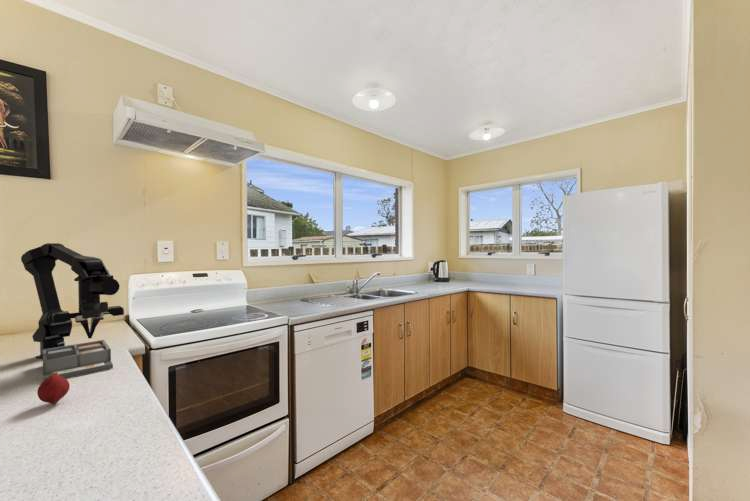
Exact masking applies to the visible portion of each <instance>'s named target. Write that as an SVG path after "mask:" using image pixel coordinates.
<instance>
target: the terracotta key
mask: <svg viewBox="0 0 750 501" xmlns="http://www.w3.org/2000/svg"><path fill="white" fill-rule="evenodd" d="M98 345H101V344H100V343H99V344H93V345H87V346H80V347H78V349H80V348H86V347H92V346H98Z"/></svg>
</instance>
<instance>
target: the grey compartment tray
mask: <svg viewBox="0 0 750 501" xmlns="http://www.w3.org/2000/svg"><path fill="white" fill-rule="evenodd" d="M99 343H100V344H101V345H98V346H92V347H86V348H80V349H78V347H80V346H87V345H93V344H99ZM68 348H72V349H73V350H68V351H62V352H56V353H50V354H48V352H50V351H56V350H62V349H68ZM99 348H104V350H100V351H94V352H88V353H83V354H80V352H81V351H87V350H93V349H99ZM111 350H112V349H111V348H110V346H109V345H108V343H107V342H106V341H105V339H101V340H94V341H87V342H82V343H81V342H80V343H75V344H68V345H65V346H62V347H55V348H49V349H43V358H42V372H43V377H42V378H43V381H44V380H45V379H47V378H48V377H49V376H50V375H51V374H52V373H54V372H57V373H58V374H57V375H58V376H62V377H64V378H65V379H68V378H69V379H70V378H74V377H79V376H84V375H88V374H93V373H97V372H102V371H107V370H112V369H113V368H114V364H113V362H112V355H111V354H112V351H111Z"/></svg>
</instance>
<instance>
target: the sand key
mask: <svg viewBox="0 0 750 501" xmlns="http://www.w3.org/2000/svg"><path fill="white" fill-rule="evenodd" d="M100 350H104V348H99V349H93V350H87V351H81V352H80V354H83V353H88V352H94V351H100Z"/></svg>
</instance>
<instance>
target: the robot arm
mask: <svg viewBox="0 0 750 501" xmlns="http://www.w3.org/2000/svg"><path fill="white" fill-rule="evenodd" d="M20 261H21V263H22V265H23V267H24V270H25V271H26V272H28V273H29V274H30V275H32V277H33V280H34V284H35V287H36V291H37V297H38V301H39V304H40V308H41V312H42V315H41V316H40V318H39V320H38V324H37V325H38V328H37V329H36V330H35V331H34V333H33V334H32V340H33V342H34V343H35V342H36V343H39V347H40V349H39V350H40V351H39V352H40V354H38V355H36V356H35V358H36V359H43V349H49V348H55V347H62V346H66V345H65V344H66V343H65V338H67V337H71V333H72V328H73V321H72V319H75V320H74V321H75V323H76V324H77V323H78V324H79V323H80V324H81V326H82V327H83V329H84V331H85V334H86V335H87V338H88V339H92V338H93V335H94V333H95V330H96V328H97V326H98V324H99V322H100V321H103V320H104V319H105V317H104V315H111V316H113V317H119V316H124V315H125V309H124V307H122V306H121V305H113V306H109V303H108V301H102V302H101V296H102V295H103V296H113V295H115V294H116V293H118V291H119V290H120V284H119V282H118V280H117V279H115V278H114V275H113V274H110V271H109V270H108V268H107V267H106V266H105V264H104V262H103V260H102V259H101V258H99V257H95V256H87V255H83V254H81V253H78V252H77V251H75V250H72V249H71V248H69V247H67V246H64V244H61V243H59V242H57V243H54V242H53V243H52V242H51V243H50V242H47V243H44V244H42V245H40V246H39V247H35V248H32V249H30V250H27V251H26V252H24V253H23V254H22V255H21V257H20ZM57 261H61V262H62V263H64V264H67V265H68V266H70V270H71V271H73V273H75V274H76V275H77V276H76V277H75V278H74V279H73V280H74V282H77V283H78V284H77V286H78V290H77V291H78V295H77V296H78V312H69V311H68V310H63V309H62V308H61V303H60V300H59V297H58V291H57V288H56V285H55V280H54V276H53V270H54V269H55V267H56V265H57V263H56V262H57ZM89 319H90V326H89Z"/></svg>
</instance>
